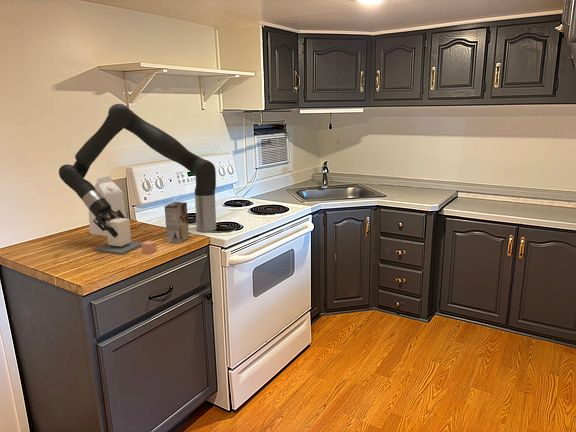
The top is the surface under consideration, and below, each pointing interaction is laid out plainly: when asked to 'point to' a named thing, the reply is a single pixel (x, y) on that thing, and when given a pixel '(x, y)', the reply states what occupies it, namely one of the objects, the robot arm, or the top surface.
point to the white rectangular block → (120, 232)
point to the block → (148, 247)
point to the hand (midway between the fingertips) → (122, 233)
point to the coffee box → (176, 222)
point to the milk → (113, 198)
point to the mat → (119, 248)
